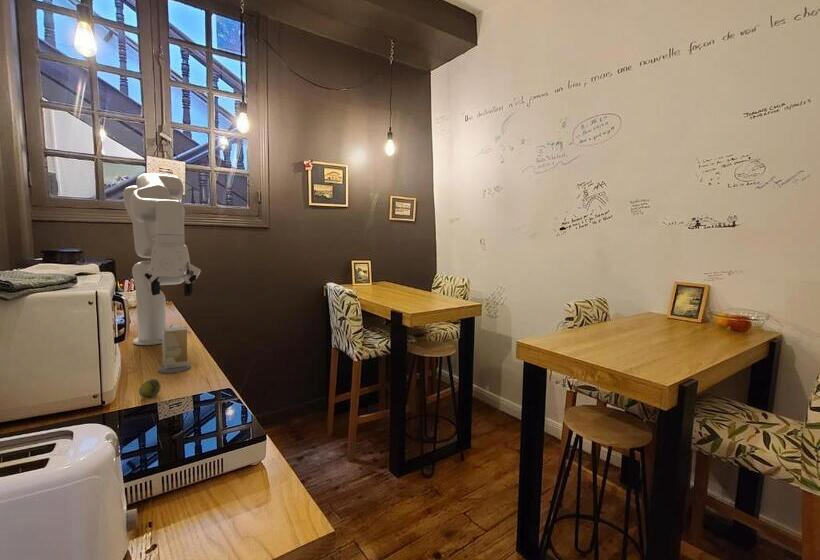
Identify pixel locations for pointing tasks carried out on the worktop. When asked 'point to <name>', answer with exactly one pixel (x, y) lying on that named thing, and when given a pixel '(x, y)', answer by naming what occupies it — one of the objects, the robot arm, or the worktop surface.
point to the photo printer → (163, 337)
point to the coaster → (173, 369)
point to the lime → (150, 388)
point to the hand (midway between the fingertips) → (172, 295)
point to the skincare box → (175, 347)
